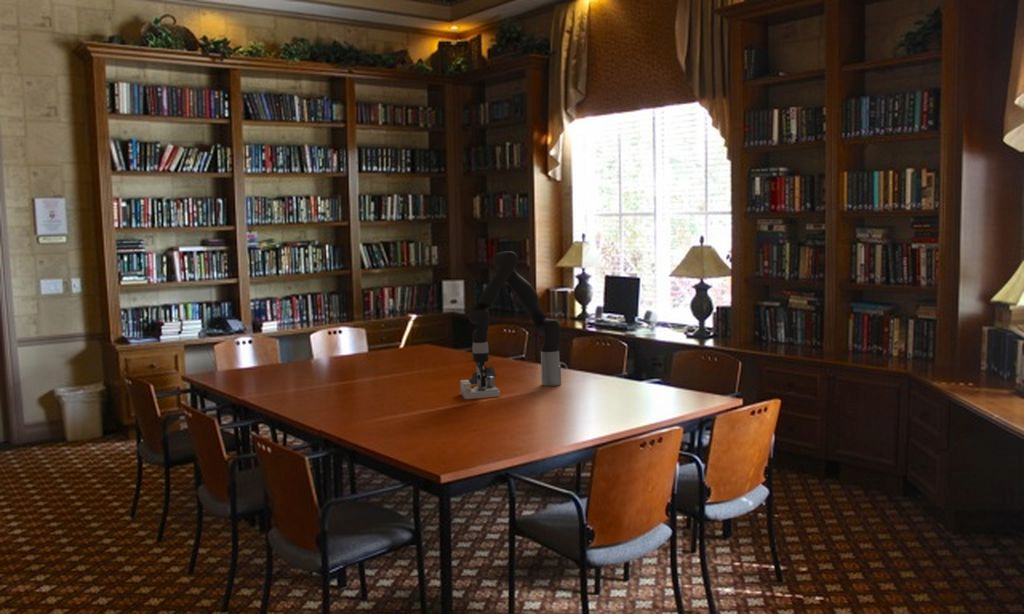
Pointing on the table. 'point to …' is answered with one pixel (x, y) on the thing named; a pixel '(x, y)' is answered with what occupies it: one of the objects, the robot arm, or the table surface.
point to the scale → (474, 393)
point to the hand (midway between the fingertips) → (481, 385)
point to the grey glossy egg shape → (490, 382)
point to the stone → (489, 372)
